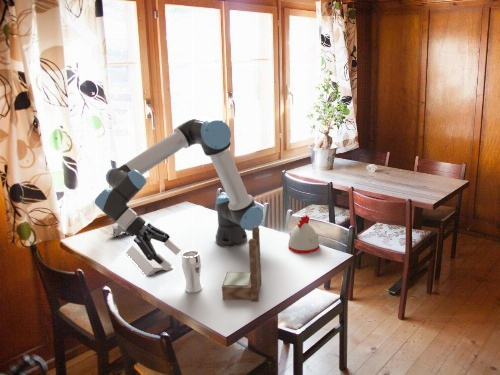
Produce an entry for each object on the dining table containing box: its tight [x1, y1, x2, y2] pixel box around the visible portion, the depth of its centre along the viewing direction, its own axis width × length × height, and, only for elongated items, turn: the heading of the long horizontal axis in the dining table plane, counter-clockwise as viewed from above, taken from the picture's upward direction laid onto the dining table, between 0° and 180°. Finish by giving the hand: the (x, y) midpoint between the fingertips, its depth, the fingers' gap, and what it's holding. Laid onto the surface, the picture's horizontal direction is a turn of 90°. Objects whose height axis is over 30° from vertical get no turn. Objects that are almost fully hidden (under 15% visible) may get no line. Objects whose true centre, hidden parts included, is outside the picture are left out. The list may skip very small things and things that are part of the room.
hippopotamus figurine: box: [110, 224, 128, 237], centre depth 239 cm, size 7×12×8 cm, turn 125°
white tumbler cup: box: [181, 249, 202, 294], centre depth 180 cm, size 7×7×15 cm
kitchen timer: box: [287, 214, 320, 255], centre depth 214 cm, size 14×14×15 cm
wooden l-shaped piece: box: [221, 226, 262, 303], centre depth 175 cm, size 13×15×24 cm
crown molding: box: [125, 245, 174, 277], centre depth 208 cm, size 29×12×4 cm, turn 31°
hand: (174, 260), depth 178 cm, fingers open, 13 cm apart
